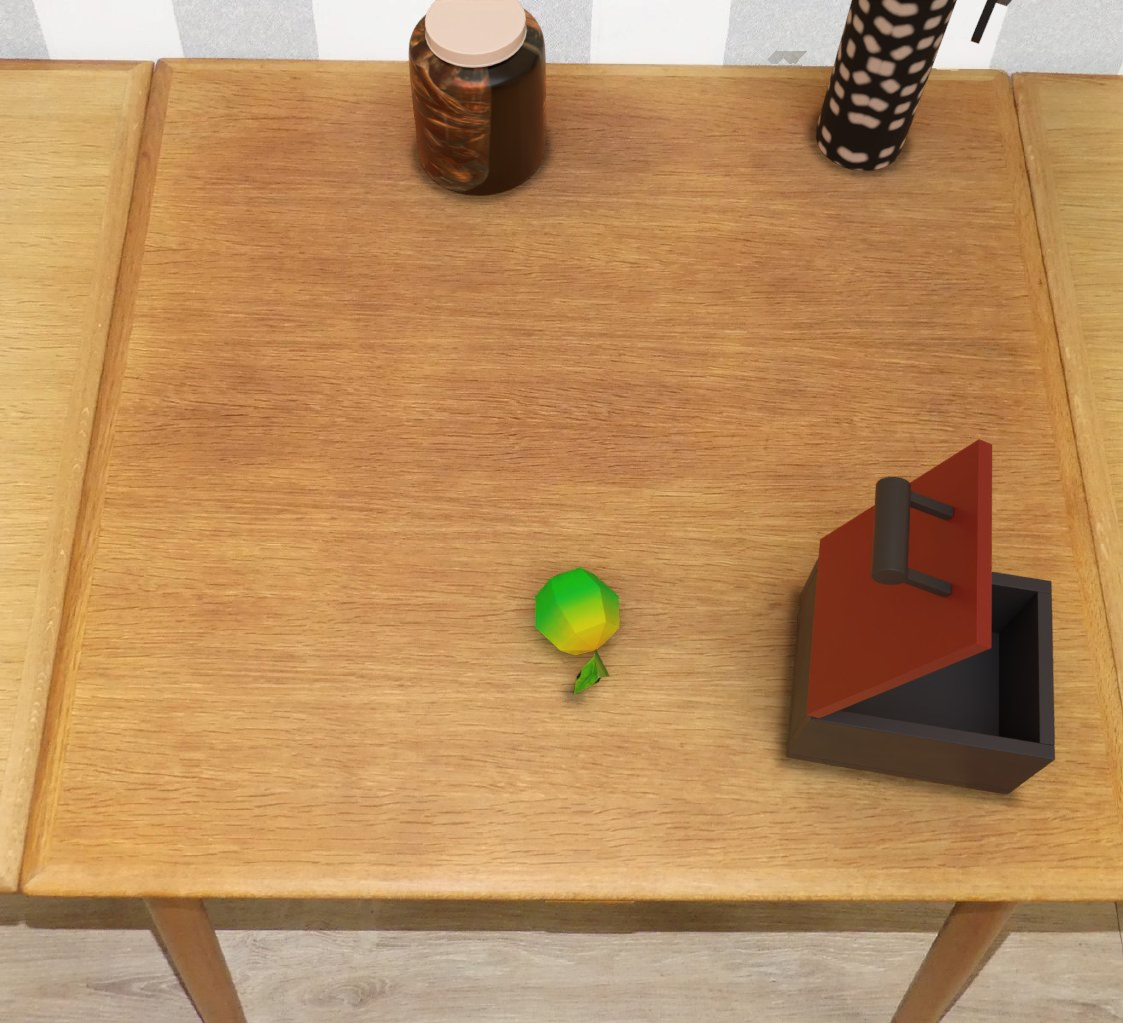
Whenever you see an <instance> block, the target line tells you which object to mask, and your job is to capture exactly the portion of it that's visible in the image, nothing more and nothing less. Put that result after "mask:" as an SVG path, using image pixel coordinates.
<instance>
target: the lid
mask: <svg viewBox="0 0 1123 1023" xmlns="http://www.w3.org/2000/svg"><path fill="white" fill-rule="evenodd" d="M874 490H875V492H874V504H873V505H872V506H870V507H869V508H867V509H866V510H864V511H862V512H861V513H859V514H858V515H856V516H854V517H853V518H852V519H850V520H848V521H847V522H845V523H843V524H842V525H840V526H839V527H837V528H836V529H834V530H833V531H831V532H829V533H828V534H826V535H824V536H823V537H821V538H820V539H819V545H818V546H819V547H818V550H819V551H818V557H819V558H818V557H817V559H818V571H817V584H816V597H815V610H814V623H813V636H812V649H811V661H810V674H809V687H808V700H807V713H806V714H807V715H809V716H813V717H816V718H821V717H824V716H826V715H829V714H831V713H834V712H836V711H838V710H841V709H843V708H846V707H848V706H851V705H853V704H856V703H858V702H860V701H863V700H865V699H868V698H870V697H873V696H875V695H878V694H880V693H882V692H885V691H887V690H890V689H892V688H895V687H897V686H900V685H902V684H905V683H907V682H909V681H912V680H914V679H917V678H919V677H922V676H924V675H927V674H929V673H931V672H934V671H936V670H939V669H941V668H944V667H946V666H949V665H951V664H953V663H956V662H958V661H961V660H963V659H966V658H968V657H971V656H973V655H975V654H978V653H980V652H983V651H985V650H988V649H990V648H991V616H992V572H993V557H992V556H993V444H992V443H990V442H987V441H986V440H983V439H980V438H978V439H977V440H975V441H974V442H972V443H970V444H969V445H967V446H966V447H964V448H962V449H961V450H959V451H958V452H956V453H955V454H953V455H952V456H950V457H948V458H947V459H945V460H943V461H942V462H940V463H938V464H937V465H935V466H933V467H932V468H931V469H929V470H928V471H926V472H925V473H923V474H921V475H920V476H918V477H917V478H914V479H913V480H911V481H909V480H908V479H905V478H903V477H899V476H886V477H881V478H880V479H879V480H877V482H876V483H875V489H874Z"/></svg>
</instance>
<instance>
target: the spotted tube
mask: <svg viewBox="0 0 1123 1023" xmlns="http://www.w3.org/2000/svg"><path fill="white" fill-rule="evenodd" d="M957 1H958V0H851V2H850V5H849V9H848V13H847V17H846V19H845V23H844V26H843V31H842V33H841V34H842V35H841V37H840V42H839V45H838V49H837V53H836V55H835V59H834V62H833V66H832V70H831V73H830V77H829V81H828V84H827V88H826V91H825V95H824V98H823V103H822V105H821V110H820V113H819V117H818V121H817V124H816V128H815V140H816V143H817V146H818V148H819V149H820V151H821V152H822V153H823V155H824V156H825V157H827V158H828V159H829V160H831V161H832V162H834V163H835V164H836V165H838V166H840V167H843V168H846V169H850V170H854V171H863V172H867V171H875V170H876V171H877V170H879V169H883V168H885V167H888V166H889V165H891V164H892V163H894V162H895V161H896V160H897V158H898V157H899V156H900V155H901V153H902V150H903V147H904V145H905V143H906V140H907V138H908V137H907V136H908V134H909V131H910V129H911V126H912V123H913V120H914V118H915V115H916V112H917V110H918V107H919V105H920V101H921V99H922V96H923V94H924V91H925V88H926V85H927V83H928V81H929V77H930V75H931V72H932V68H933V66H934V63H935V62H936V61H935V60H936V58H937V56H938V53H939V50H940V47H941V45H942V42H943V39H944V36H945V34H946V31H947V28H948V26H949V23H950V20H951V17H952V15H953V12H954V9H955V7H956V4H957Z"/></svg>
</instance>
